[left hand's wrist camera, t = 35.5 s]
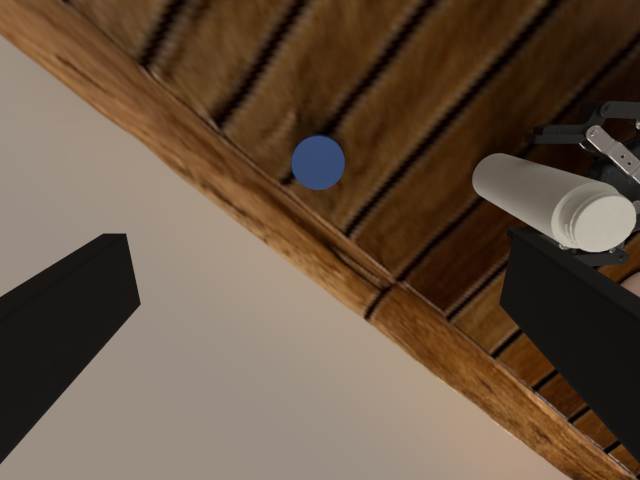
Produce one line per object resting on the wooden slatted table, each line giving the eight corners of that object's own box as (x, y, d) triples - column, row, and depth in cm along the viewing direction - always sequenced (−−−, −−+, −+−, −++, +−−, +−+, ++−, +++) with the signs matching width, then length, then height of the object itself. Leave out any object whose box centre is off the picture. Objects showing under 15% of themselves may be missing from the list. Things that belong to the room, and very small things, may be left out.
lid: (353, 165, 37) (355, 168, 35) (313, 195, 38) (313, 199, 37) (323, 123, 36) (323, 124, 34) (282, 155, 37) (280, 158, 35)
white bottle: (468, 198, 39) (558, 257, 24) (476, 152, 37) (578, 187, 22) (513, 199, 39) (630, 259, 24) (523, 153, 37) (655, 188, 22)
